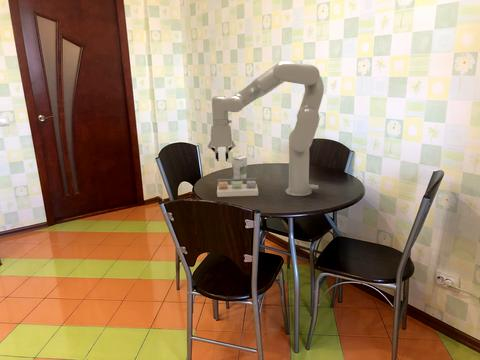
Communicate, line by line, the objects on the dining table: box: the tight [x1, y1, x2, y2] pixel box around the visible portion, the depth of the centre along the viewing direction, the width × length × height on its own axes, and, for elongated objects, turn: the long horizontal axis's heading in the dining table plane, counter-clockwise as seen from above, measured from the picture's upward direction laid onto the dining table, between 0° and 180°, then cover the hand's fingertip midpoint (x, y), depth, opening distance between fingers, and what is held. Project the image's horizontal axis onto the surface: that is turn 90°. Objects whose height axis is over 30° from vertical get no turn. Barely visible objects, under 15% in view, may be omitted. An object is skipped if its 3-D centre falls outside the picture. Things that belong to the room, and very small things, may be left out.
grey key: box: [246, 180, 257, 186], centre depth 188 cm, size 5×5×2 cm
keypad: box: [216, 177, 259, 198], centre depth 189 cm, size 20×14×5 cm
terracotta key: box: [218, 182, 228, 187], centre depth 187 cm, size 5×5×2 cm
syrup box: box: [231, 155, 248, 179], centre depth 204 cm, size 6×6×14 cm
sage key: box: [232, 181, 242, 187], centre depth 187 cm, size 5×5×2 cm
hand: (222, 160), depth 184 cm, fingers open, 3 cm apart
